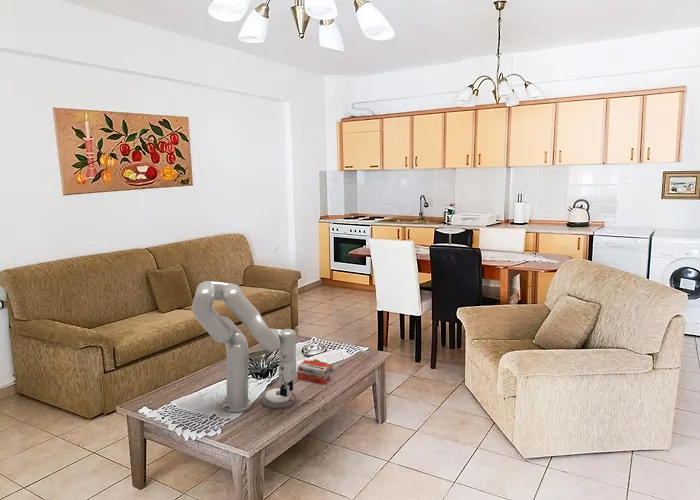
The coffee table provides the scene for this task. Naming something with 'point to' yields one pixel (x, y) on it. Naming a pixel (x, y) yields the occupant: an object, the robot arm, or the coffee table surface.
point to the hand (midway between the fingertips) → (286, 392)
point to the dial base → (277, 405)
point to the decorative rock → (321, 362)
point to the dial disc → (278, 396)
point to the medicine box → (313, 372)
